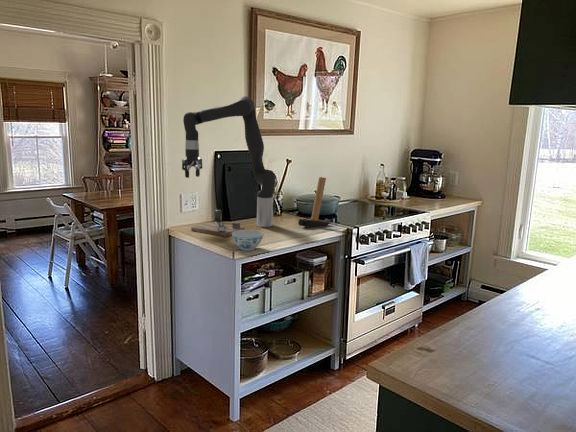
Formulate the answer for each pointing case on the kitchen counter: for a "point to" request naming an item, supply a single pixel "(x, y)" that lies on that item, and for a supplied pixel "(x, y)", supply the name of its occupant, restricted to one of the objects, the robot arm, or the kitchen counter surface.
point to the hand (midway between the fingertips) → (192, 177)
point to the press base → (212, 229)
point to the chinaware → (247, 238)
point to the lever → (218, 220)
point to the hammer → (316, 208)
